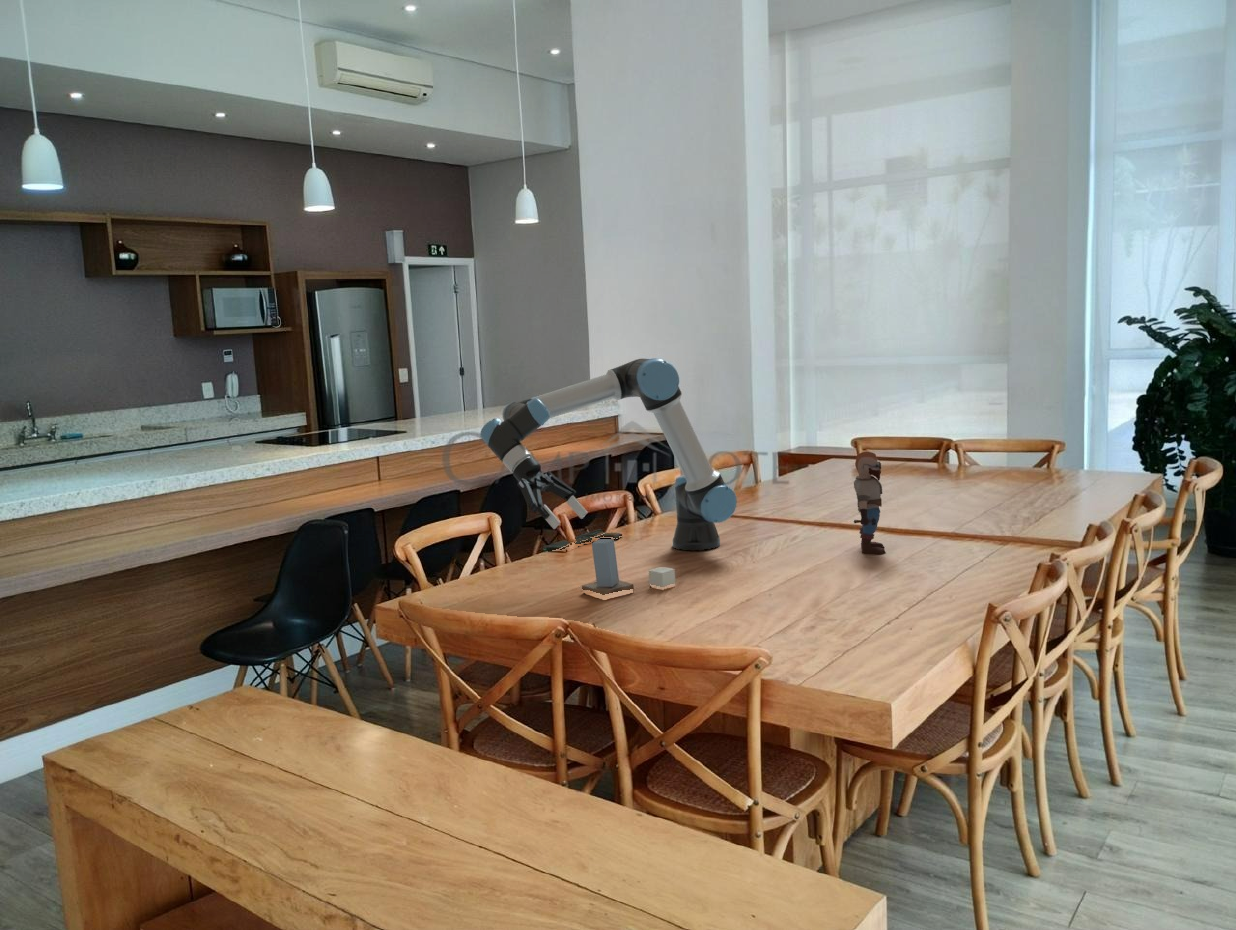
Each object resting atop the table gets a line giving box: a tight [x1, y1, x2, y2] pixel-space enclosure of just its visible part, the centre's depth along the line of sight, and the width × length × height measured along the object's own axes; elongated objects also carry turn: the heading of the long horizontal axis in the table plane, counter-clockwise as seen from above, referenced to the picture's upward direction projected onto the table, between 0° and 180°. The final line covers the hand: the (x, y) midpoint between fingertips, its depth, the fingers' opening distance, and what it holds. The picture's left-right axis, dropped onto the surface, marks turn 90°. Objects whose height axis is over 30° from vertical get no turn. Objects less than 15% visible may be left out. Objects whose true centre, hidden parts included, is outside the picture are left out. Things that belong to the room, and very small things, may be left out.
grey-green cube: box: [648, 566, 676, 587], centre depth 268 cm, size 5×5×5 cm
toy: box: [853, 451, 887, 555], centre depth 294 cm, size 22×9×30 cm, turn 168°
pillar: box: [591, 539, 620, 587], centre depth 264 cm, size 4×4×12 cm
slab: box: [581, 579, 635, 595], centre depth 265 cm, size 10×10×3 cm
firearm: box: [541, 528, 623, 553], centre depth 328 cm, size 28×2×15 cm
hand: (571, 520), depth 268 cm, fingers open, 13 cm apart
